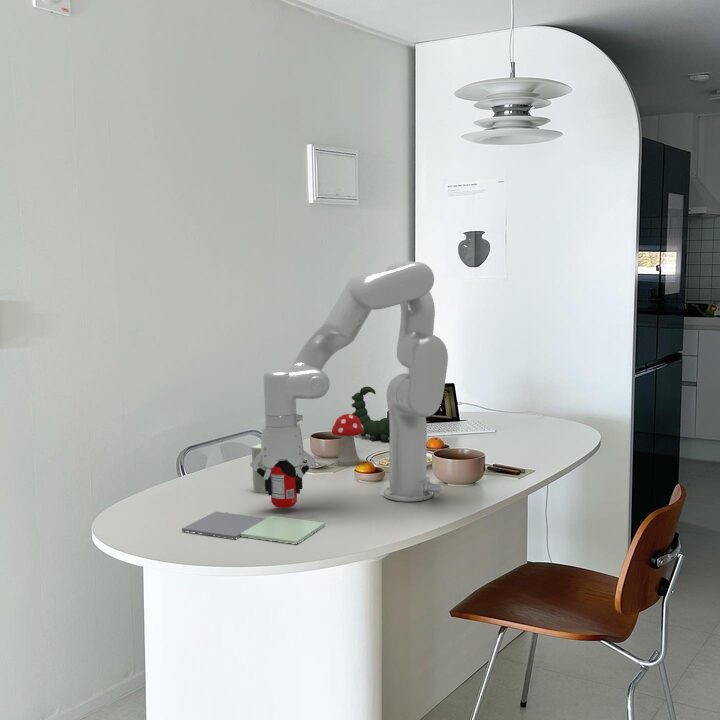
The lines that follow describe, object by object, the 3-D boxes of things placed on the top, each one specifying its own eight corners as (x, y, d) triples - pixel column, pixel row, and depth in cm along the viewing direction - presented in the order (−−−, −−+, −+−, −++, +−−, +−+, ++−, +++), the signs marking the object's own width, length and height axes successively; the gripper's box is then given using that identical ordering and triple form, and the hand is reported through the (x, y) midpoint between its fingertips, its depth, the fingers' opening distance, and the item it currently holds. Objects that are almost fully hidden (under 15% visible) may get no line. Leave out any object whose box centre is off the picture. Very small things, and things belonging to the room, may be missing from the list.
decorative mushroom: (341, 469, 253) (340, 418, 251) (326, 463, 260) (325, 413, 258) (370, 464, 258) (369, 414, 256) (354, 458, 266) (354, 410, 264)
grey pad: (266, 521, 204) (266, 518, 204) (235, 539, 192) (235, 536, 192) (215, 514, 210) (215, 511, 210) (182, 531, 197) (181, 528, 197)
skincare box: (280, 489, 232) (280, 444, 230) (273, 494, 227) (273, 448, 226) (259, 487, 234) (258, 443, 232) (251, 492, 229) (251, 446, 228)
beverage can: (302, 505, 212) (300, 457, 211) (279, 510, 209) (277, 461, 207) (288, 499, 217) (287, 452, 216) (266, 504, 214) (264, 456, 212)
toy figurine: (350, 444, 293) (416, 446, 280) (345, 388, 291) (412, 387, 278) (364, 439, 301) (429, 440, 288) (359, 384, 299) (425, 383, 286)
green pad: (324, 526, 201) (324, 522, 201) (296, 545, 188) (296, 541, 188) (271, 519, 206) (271, 515, 206) (240, 536, 193) (240, 533, 193)
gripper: (315, 415, 215) (318, 486, 218) (244, 419, 213) (248, 491, 215) (318, 422, 208) (320, 495, 210) (244, 426, 206) (248, 500, 208)
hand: (283, 492), depth 213 cm, fingers closed on beverage can, 6 cm apart
